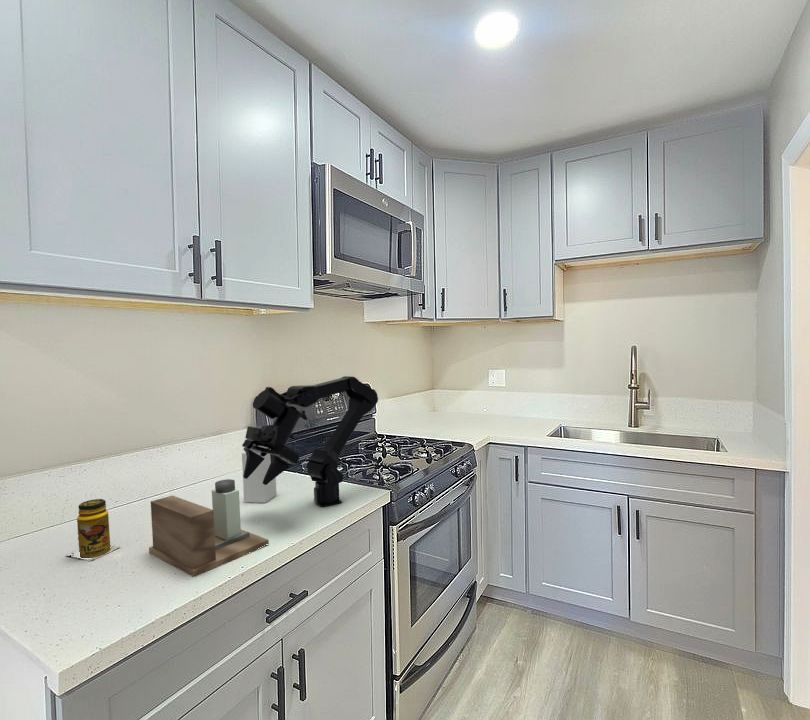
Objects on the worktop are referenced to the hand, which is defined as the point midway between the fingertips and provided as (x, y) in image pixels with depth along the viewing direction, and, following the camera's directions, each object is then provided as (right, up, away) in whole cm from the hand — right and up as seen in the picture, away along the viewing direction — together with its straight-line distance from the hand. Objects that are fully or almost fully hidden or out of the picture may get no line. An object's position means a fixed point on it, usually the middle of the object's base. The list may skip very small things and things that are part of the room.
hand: (254, 481), depth 121 cm
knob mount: (-7, -13, -12) cm, 19 cm away
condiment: (-34, -14, -11) cm, 38 cm away
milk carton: (-5, -12, +23) cm, 26 cm away
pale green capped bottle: (-4, -11, -8) cm, 14 cm away
